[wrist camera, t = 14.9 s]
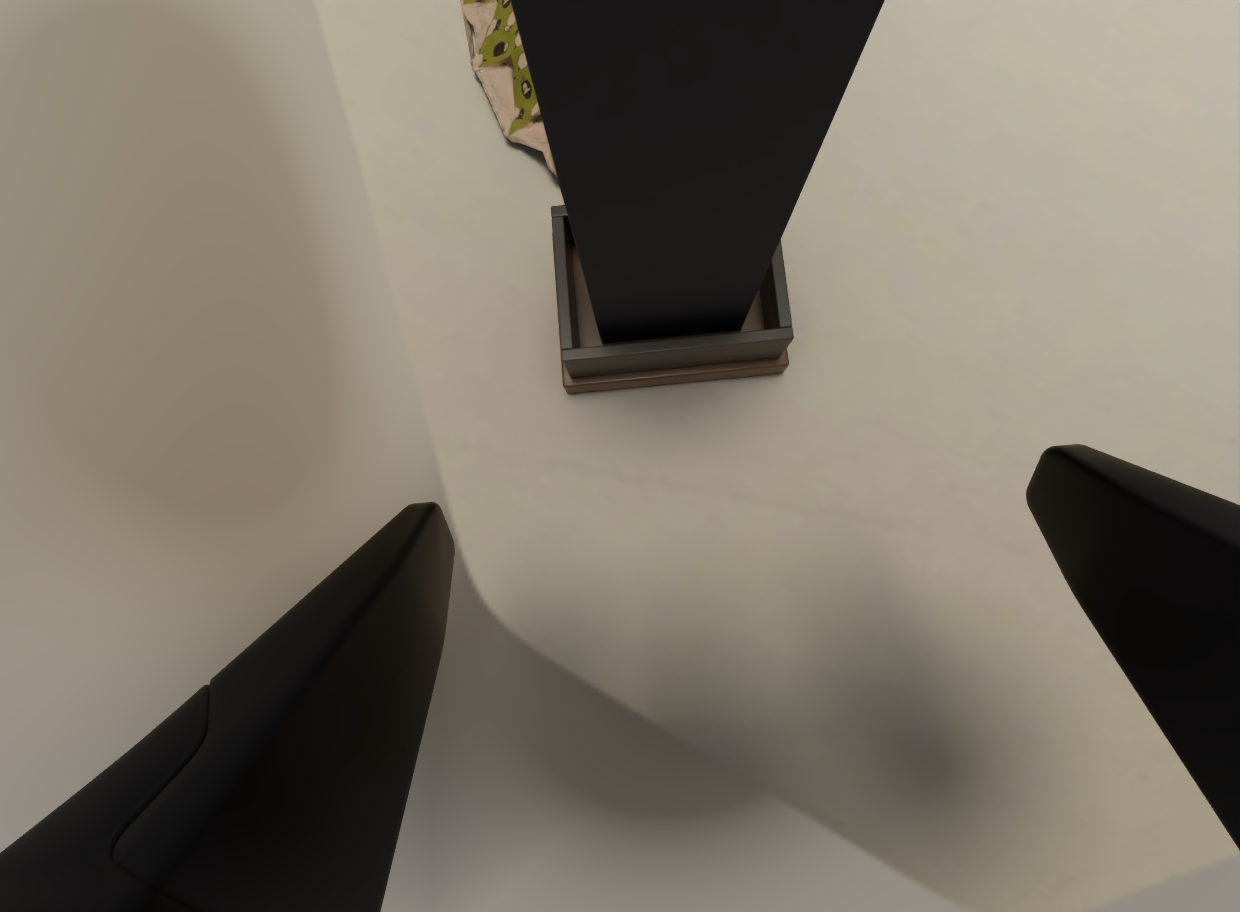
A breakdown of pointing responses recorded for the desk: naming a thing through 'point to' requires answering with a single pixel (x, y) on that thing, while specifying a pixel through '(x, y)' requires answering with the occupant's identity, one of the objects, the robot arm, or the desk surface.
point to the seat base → (663, 357)
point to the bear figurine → (505, 72)
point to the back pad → (685, 142)
